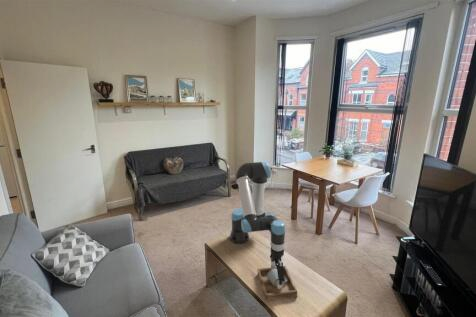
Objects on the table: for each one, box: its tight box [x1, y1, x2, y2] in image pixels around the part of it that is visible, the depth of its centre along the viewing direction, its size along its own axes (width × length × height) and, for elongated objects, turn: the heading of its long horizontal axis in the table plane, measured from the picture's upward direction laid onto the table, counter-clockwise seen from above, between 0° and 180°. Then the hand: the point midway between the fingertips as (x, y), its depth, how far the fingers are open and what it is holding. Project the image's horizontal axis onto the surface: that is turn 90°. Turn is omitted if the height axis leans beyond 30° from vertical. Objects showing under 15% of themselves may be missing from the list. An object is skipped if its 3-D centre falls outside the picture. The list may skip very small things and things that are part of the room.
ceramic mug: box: [267, 269, 287, 288], centre depth 136 cm, size 11×8×8 cm
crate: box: [257, 265, 298, 302], centre depth 136 cm, size 20×18×4 cm
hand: (276, 278), depth 135 cm, fingers open, 13 cm apart
